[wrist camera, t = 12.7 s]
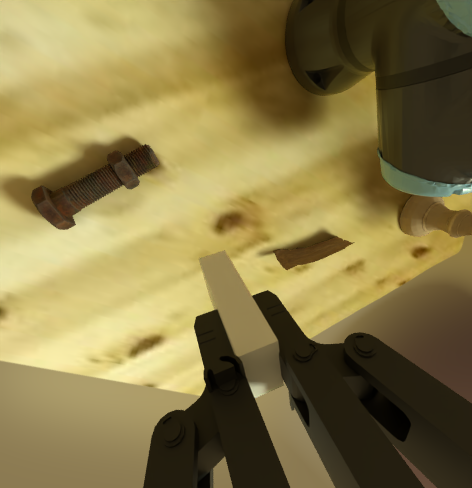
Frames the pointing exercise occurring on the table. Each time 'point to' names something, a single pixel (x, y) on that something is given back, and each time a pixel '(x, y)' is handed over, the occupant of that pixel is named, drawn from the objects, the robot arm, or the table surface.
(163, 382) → the table surface
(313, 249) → the wood plank
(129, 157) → the bolt
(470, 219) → the oil lamp
